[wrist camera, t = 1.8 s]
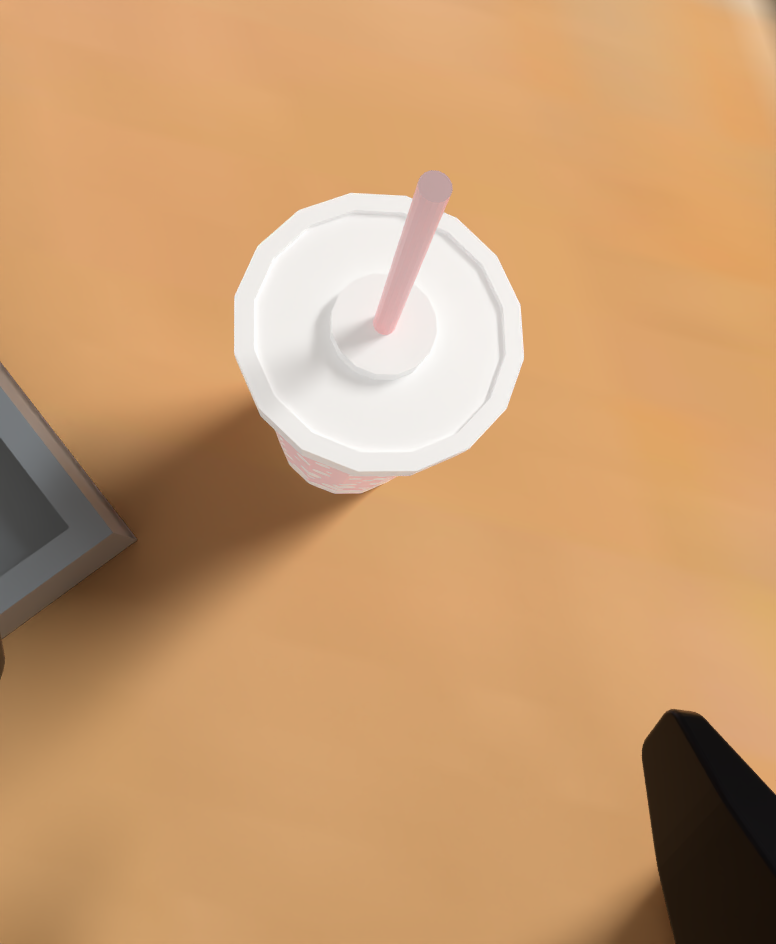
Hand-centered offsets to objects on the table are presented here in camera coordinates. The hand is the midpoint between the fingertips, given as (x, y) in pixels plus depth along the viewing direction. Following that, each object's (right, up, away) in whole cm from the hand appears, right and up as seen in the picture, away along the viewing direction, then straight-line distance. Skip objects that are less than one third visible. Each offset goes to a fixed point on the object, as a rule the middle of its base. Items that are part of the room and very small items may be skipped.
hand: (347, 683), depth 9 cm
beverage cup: (-1, +4, +14) cm, 15 cm away
